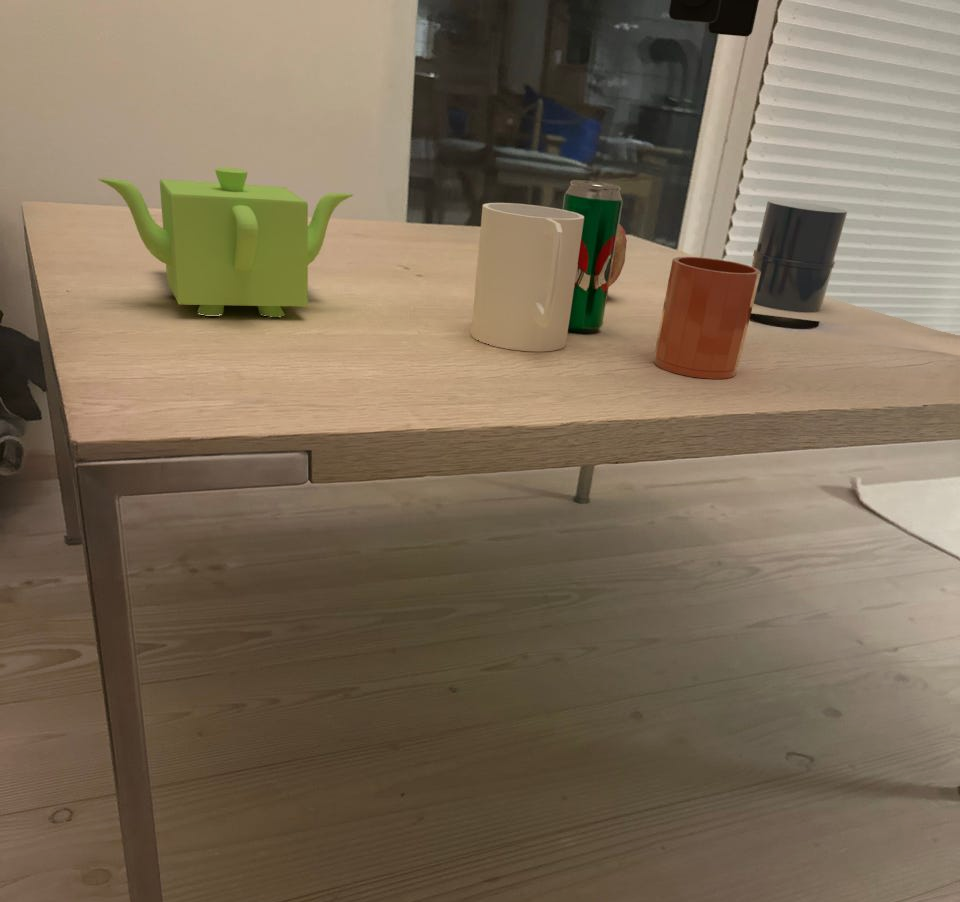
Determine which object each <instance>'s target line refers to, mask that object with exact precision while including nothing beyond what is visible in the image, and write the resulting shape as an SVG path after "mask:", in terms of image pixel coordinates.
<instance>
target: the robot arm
mask: <svg viewBox="0 0 960 902" xmlns="http://www.w3.org/2000/svg"><path fill="white" fill-rule="evenodd" d="M759 1H760V0H670V3H669V4H670V5H669V10H668V15H669V18H670V19H672V20H674V21H683V22H693V23H694V22H695V23H706V24H707V23H708V31H709V33H711V34H713V35H724V36H735V37H746V38H747V37H750V36H751V35H752V33H753V31H754V26H755V21H756V16H757V12H758V7H759Z"/></svg>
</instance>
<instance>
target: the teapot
mask: <svg viewBox="0 0 960 902" xmlns="http://www.w3.org/2000/svg"><path fill="white" fill-rule="evenodd" d="M214 171H215V175H216V178H217V180H218V182H211V181H196V180H178V179H165V178H164V179H163V178H162V179H160V180H159V192H160V204H161V216H162V217H161V219H162V226H160V225H158V223H156V221H155V220H154V219H153V217H152V215H151V213H150V210H149V209H148V206H147V203H146V201H145V199H144V196H143V194H142V193H141V191H140V190H139V189H138V188H137V187H136V186H135V185H134V184H133V183H132V182H129V181H128V180H122V179H116V178H115V179H114V178H103V177H102V178H101V177H100V178H97V179H98V180H99V181H100V182H102V183H103V184H106V185H107V186H109V187H110V188H112V189H114V190H115V191H117V193H118V194H119V195H120V196H121V197H122V199H123V200H124V202H125V203H126V205H127V207H128V210H129V211H130V214H131V216H132V218H133V221H134V224H135V227H136V230H137V232H138V235H139V237H140V239H141V241H142V243H143V244H144V246H145V248H146V249H147V251H148V252H149V253H150V255H152V256H153V257H154V258H156V259H157V260H158V261H160V262H161V263H163V264H165V270H166V281H167V284H168V286H169V288H170V289H171V292H172V294H173V296H174V297H175V300H176V302H177V304H178V305H192V306H193V305H194V306H197V305H198V308H197V311H196V313H197V312H198V313H200V314H204V315H219V314H222V313H223V314H224V311H225V306H253V307H255V306H256V307H257V309H258V313H259V315H260V314H262V315H266V316H272V317H279V316H283V315H285V316H286V314H285V312H284V311H283V309H282V307H308V306H309V284H308V283H309V276H308V275H309V268H308V267H309V265H310V264H311V263H312V262H313V261H315V260H316V258H317V256H318V255H319V253H320V251H321V249H322V247H323V245H324V241H325V238H326V237H325V236H326V233H327V229H328V225H329V221H330V219H331V216H332V215H333V212H334V211H335V210H336V208H337V207H338V206H339V205H340V204H341V203H342V202H344V201H346V200H347V199H350V198H351V197H353V196H354V194H352V193H346V192H345V193H344V192H343V193H342V192H338V193H337V192H329V193H327V194H325V195H323V196H322V197H321V198H320V199H319V200H318V202H317V204H316V206H315V209H314V211H313V214H312V217H311V220H310V222H309V220H308V219H309V214H308V213H309V203H308V202H307V201H306V200H305V199H303V198H302V197H300V196H299V195H297V194H296V193H294V192H293V191H291V190H290V189H288V188H286V187H285V186H274V185H273V186H272V185H260V184H259V185H257V184H246V181H247V177H248V171H246V169H243V168H237V167H217V168H215V169H214Z"/></svg>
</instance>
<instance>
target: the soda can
mask: <svg viewBox="0 0 960 902" xmlns="http://www.w3.org/2000/svg"><path fill="white" fill-rule="evenodd" d="M569 183H570V186H569V187H568V189H566V191H565V193H564V194H563V201H562V208H561V210H566V211H571V212H575V213H578V214H581V215H583V216H584V223H583V229H582V236H581V243H580V250H579V257H578V264H577V271H576V278H575V285H574V292H573V299H572V306H571V313H570V320H569V326H568V333H578V334H591V333H595V332H597V331H598V330H599V329H600V328H601V327H602V326H603V324H604V318H605V313H606V306H607V301H608V294H609V288H610V286H609V282H610V276H611V270H612V264H613V258H614V252H615V246H616V240H617V233H618V227H619V224H620V221H621V216H622V215H621V214H622V208H623V202H624V201H623V198H622V195H621V193H620V191H621V189H622V188H621V186H620V185H618V184H613V183H609V182H602V181H596V180H595V181H594V180H582V179H572V180H570V182H569Z"/></svg>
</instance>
